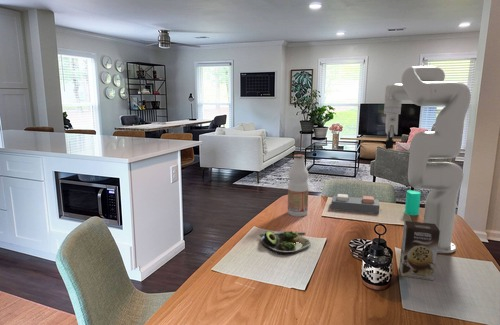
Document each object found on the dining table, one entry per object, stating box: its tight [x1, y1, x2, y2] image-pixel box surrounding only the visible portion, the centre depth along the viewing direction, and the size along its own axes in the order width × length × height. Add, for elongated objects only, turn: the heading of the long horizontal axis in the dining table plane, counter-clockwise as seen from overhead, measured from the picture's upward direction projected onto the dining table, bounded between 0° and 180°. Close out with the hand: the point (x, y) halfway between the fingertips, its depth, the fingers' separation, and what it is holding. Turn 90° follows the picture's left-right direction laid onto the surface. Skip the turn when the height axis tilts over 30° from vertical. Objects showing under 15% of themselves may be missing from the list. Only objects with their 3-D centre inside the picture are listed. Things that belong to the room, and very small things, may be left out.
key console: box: [330, 195, 381, 215], centre depth 165 cm, size 22×10×4 cm, turn 72°
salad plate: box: [259, 230, 312, 256], centre depth 126 cm, size 19×18×5 cm
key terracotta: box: [362, 195, 375, 204], centre depth 163 cm, size 5×5×4 cm
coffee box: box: [398, 220, 440, 281], centre depth 103 cm, size 9×6×16 cm
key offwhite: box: [336, 193, 349, 201], centre depth 167 cm, size 5×5×4 cm
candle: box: [404, 189, 422, 216], centre depth 157 cm, size 6×6×12 cm
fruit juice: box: [287, 154, 310, 217], centre depth 155 cm, size 9×9×28 cm
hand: (389, 148), depth 165 cm, fingers closed
